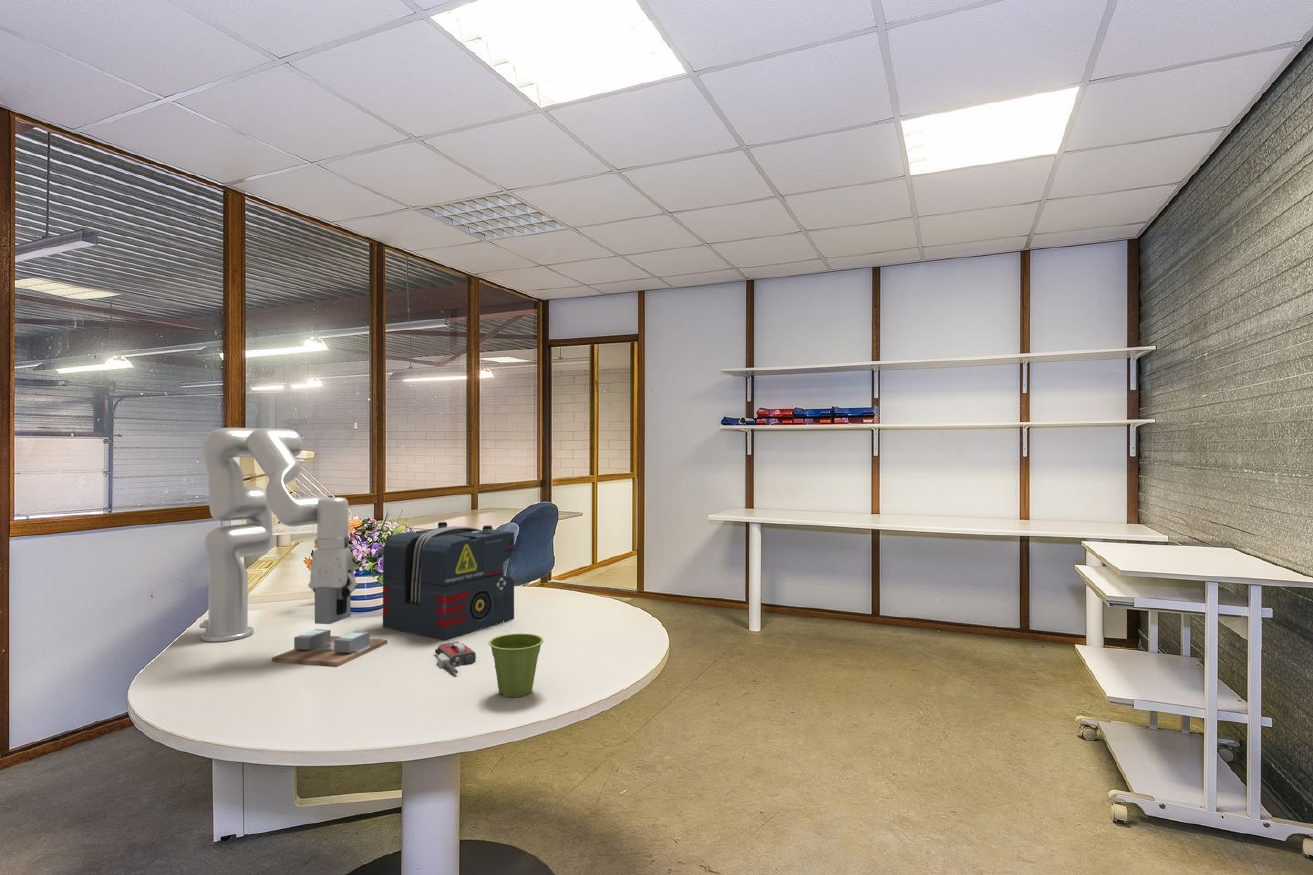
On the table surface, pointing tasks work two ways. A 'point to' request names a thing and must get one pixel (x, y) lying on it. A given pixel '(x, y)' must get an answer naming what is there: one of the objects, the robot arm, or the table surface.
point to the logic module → (328, 606)
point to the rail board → (329, 648)
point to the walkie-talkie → (454, 655)
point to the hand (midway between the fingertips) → (333, 612)
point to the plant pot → (515, 662)
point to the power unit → (447, 580)
